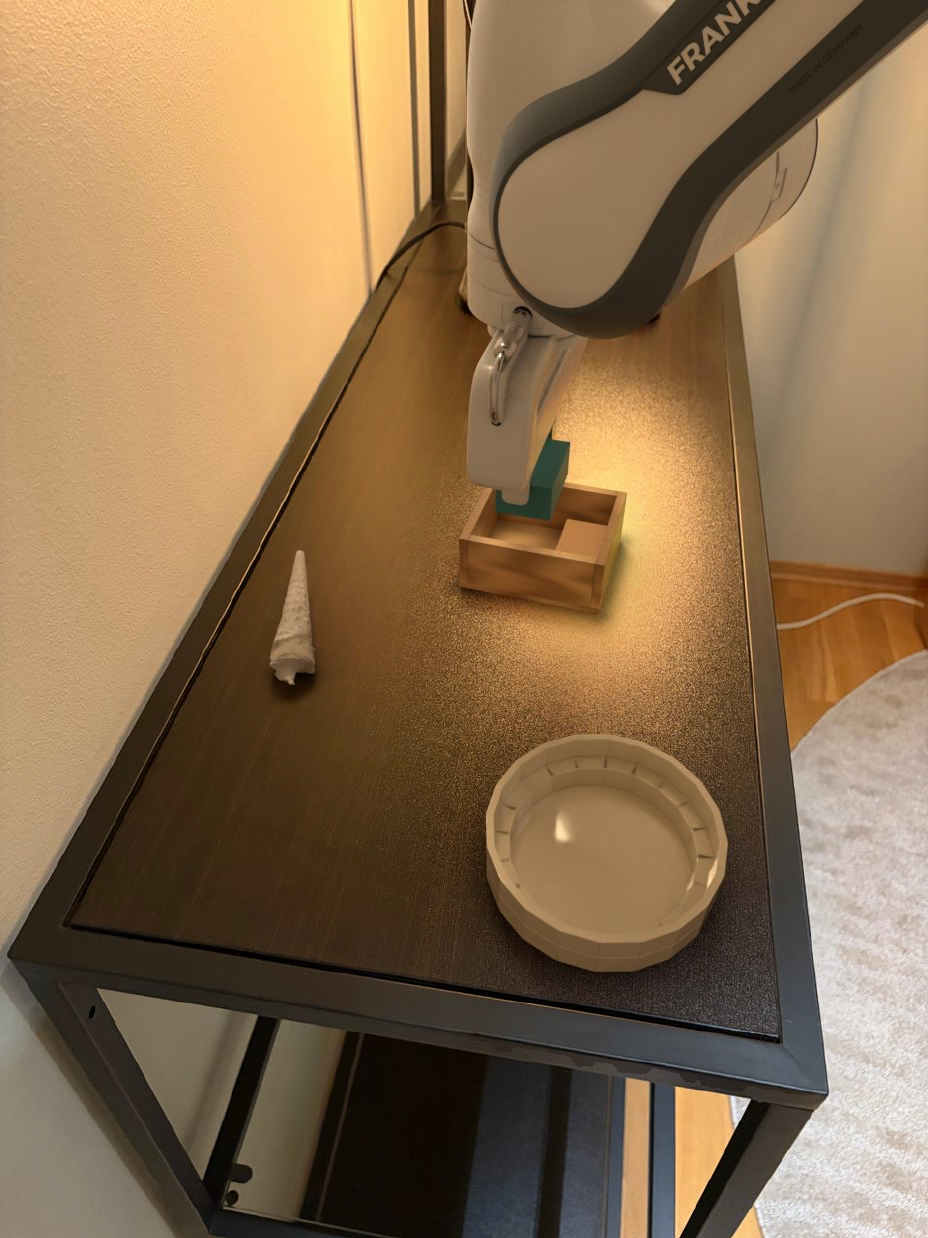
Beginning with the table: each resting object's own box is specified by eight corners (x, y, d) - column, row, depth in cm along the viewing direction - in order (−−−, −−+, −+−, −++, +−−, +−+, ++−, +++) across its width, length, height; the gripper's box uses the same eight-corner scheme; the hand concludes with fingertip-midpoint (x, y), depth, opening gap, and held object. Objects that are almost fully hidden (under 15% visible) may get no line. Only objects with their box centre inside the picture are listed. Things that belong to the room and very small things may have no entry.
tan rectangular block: (607, 549, 80) (610, 526, 78) (594, 591, 76) (597, 567, 74) (565, 542, 81) (567, 518, 79) (550, 583, 77) (551, 559, 75)
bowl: (724, 801, 61) (737, 763, 58) (699, 1008, 51) (713, 975, 48) (518, 751, 65) (520, 713, 62) (457, 936, 55) (455, 901, 51)
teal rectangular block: (568, 473, 65) (570, 441, 63) (550, 521, 61) (552, 488, 59) (516, 465, 66) (517, 433, 64) (494, 512, 62) (495, 479, 60)
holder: (620, 540, 82) (627, 492, 78) (598, 614, 75) (604, 565, 71) (493, 517, 85) (493, 469, 81) (460, 587, 78) (458, 538, 74)
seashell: (303, 702, 70) (321, 682, 68) (257, 688, 69) (274, 667, 66) (324, 572, 78) (341, 549, 76) (284, 557, 77) (300, 533, 74)
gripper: (553, 365, 44) (539, 568, 54) (620, 221, 58) (599, 403, 68) (436, 349, 46) (443, 550, 56) (529, 211, 60) (521, 392, 69)
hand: (529, 468), depth 62 cm, fingers closed on teal rectangular block, 6 cm apart
